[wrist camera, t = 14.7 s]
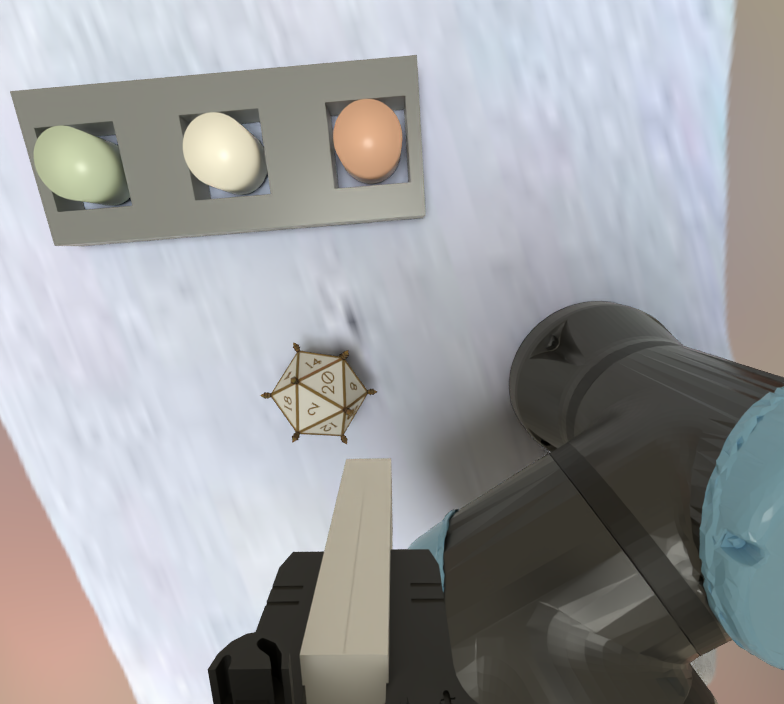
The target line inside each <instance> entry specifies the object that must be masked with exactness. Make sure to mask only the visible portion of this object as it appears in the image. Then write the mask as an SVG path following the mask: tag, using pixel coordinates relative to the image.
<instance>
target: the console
mask: <svg viewBox="0 0 784 704" xmlns="http://www.w3.org/2000/svg"><path fill="white" fill-rule="evenodd" d="M10 93H11V96H12V100H13V103H14V107H15V110H16V114H17V117H18V121H19V124H20V128H21V131H22V134H23V138H24V141H25V145H26V148H27V152H28V155H29V159H30V162H31V166H32V169H33V173H34V176H35V179H36V183H37V186H38V190H39V193H40V197H41V200H42V204H43V207H44V211H45V214H46V218H47V221H48V224H49V228H50V231H51V235H52V238H53V242H54V245H55V246H91V245H103V244H115V243H127V242H139V241H151V240H163V239H176V238H188V237H200V236H212V235H224V234H236V233H248V232H260V231H272V230H284V229H296V228H309V227H321V226H333V225H345V224H357V223H369V222H381V221H393V220H405V219H417V218H423V217H424V216H425V198H424V180H423V161H422V142H421V124H420V105H419V87H418V68H417V55H412V56H401V57H390V58H378V59H367V60H356V61H345V62H334V63H322V64H311V65H300V66H289V67H277V68H266V69H255V70H244V71H233V72H221V73H210V74H199V75H188V76H177V77H165V78H154V79H143V80H132V81H121V82H109V83H98V84H87V85H76V86H64V87H53V88H42V89H31V90H20V91H10ZM360 99H374V100H377V101H380V102H382V103H384V104H385V105H387V106H388V107H389V108H390V109H391V110H392V111H393V110H404V117H405V133H406V149H407V165H408V180H409V183H397V184H386V185H374V186H362V187H350V188H338V179H337V169H336V160H335V150H334V141H333V131H332V122H331V116H335V115H340V113H341V112H342V111H343V109H344V108H345V107H347V106H348V105H349V104H351V103H352V102H354V101H357V100H360ZM210 112H217V113H222V114H225V115H228V116H230V117H231V118H233V119H234V120H236V121H237V122H238V123H239V124H243V123H255V122H260V124H261V131H262V137H263V144H264V151H265V158H266V165H267V171H268V178H269V185H270V192H271V194H267V195H255V196H243V197H231V198H219V199H211V196H210V191H209V185H207V184H205V183H203V182H202V181H200V180H199V179H198V178H197V177H196V176H195V175H194V174H193V173H192V172H191V170H190V169H189V167H188V165H187V163H186V161H185V158H184V154H183V138H184V134H185V131H186V129H187V127H188V126H189V124H190V123H191V122H192V121H193V120H194V119H195V118H196V117H198V116H200V115H202V114H205V113H210ZM54 126H69V127H73V128H75V129H78V130H81V131H83V132H86V133H88V134H91V135H93V136H105V135H116V137H117V142H118V146H119V150H120V155H121V159H122V163H123V167H124V172H125V176H126V180H127V184H128V189H129V193H130V197H131V202H132V206H124V207H112V208H100V209H89V210H85V208H84V205H83V201H77V200H71V199H66V198H63V197H61V196H59V195H57V194H55V193H54V192H52V191H51V190H50V189H49V188H48V187H47V186H46V185H45V184H44V183H43V181H42V180H41V178H40V177H39V175H38V173H37V170H36V167H35V163H34V147H35V144H36V141H37V139H38V138H39V136H40V135H41V134H42V133H43V132H44V131H45V130H47V129H49V128H51V127H54Z"/></svg>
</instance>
